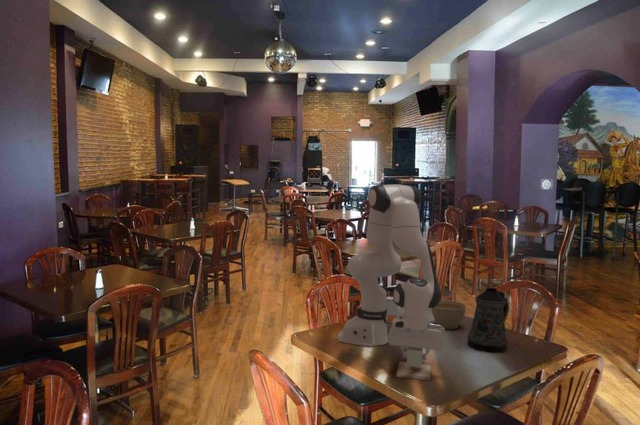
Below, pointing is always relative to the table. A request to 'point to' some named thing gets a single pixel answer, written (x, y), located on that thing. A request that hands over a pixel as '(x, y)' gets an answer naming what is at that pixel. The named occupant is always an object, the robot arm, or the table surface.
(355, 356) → the table surface
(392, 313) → the skincare box
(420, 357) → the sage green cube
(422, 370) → the post stand
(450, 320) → the planter bowl
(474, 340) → the beer stein
